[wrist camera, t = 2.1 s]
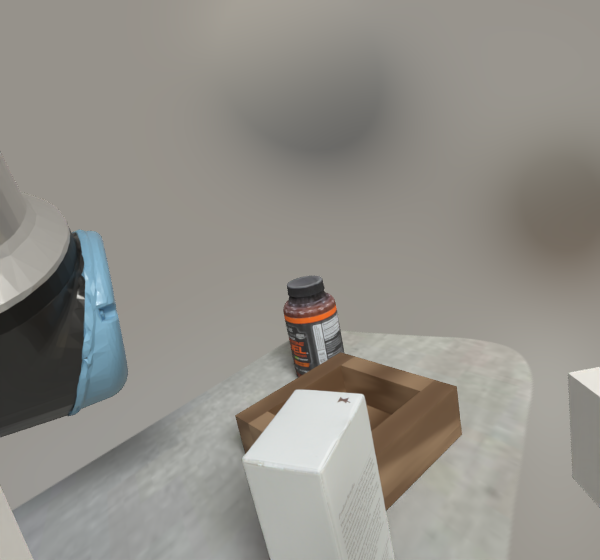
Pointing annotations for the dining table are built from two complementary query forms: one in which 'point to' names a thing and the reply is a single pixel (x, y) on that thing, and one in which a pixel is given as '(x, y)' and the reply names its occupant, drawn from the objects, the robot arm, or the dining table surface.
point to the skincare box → (319, 481)
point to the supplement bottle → (311, 323)
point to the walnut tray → (378, 415)
